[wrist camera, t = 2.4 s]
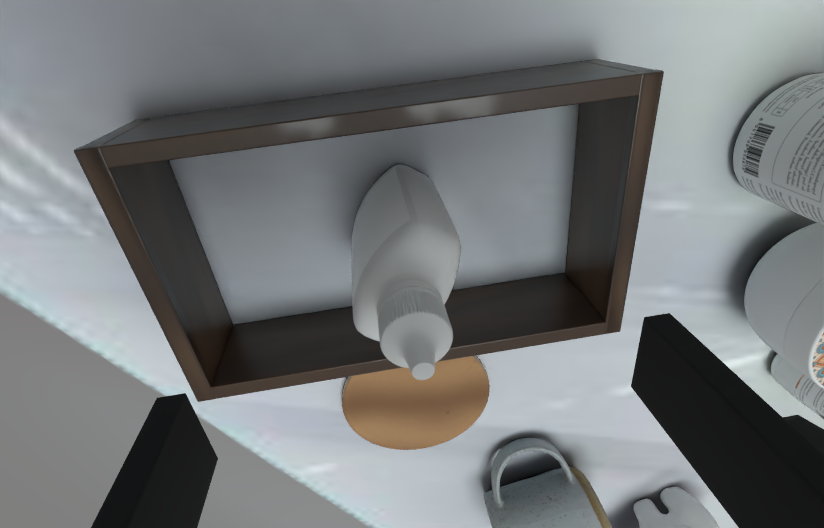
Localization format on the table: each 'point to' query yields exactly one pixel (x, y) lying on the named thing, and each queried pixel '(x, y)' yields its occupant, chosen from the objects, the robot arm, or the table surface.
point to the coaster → (416, 404)
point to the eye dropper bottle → (404, 269)
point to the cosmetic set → (798, 252)
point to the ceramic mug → (542, 494)
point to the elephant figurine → (674, 511)
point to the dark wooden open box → (363, 113)
